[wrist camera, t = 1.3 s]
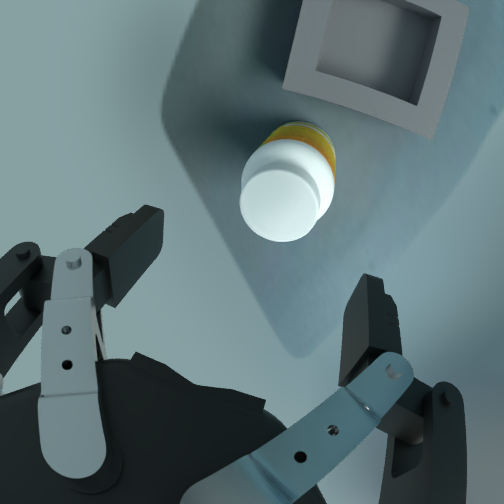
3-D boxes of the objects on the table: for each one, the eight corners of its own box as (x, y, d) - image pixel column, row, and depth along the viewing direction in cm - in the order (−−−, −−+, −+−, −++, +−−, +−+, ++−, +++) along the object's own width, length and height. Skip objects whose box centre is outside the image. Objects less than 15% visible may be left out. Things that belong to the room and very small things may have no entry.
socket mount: (318, -33, 14) (315, -49, 12) (452, 14, 14) (469, 7, 11) (289, 85, 20) (282, 88, 18) (419, 129, 19) (431, 140, 17)
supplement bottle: (271, 113, 22) (231, 144, 14) (342, 129, 21) (345, 170, 13) (261, 177, 25) (220, 239, 17) (326, 194, 24) (317, 265, 17)
